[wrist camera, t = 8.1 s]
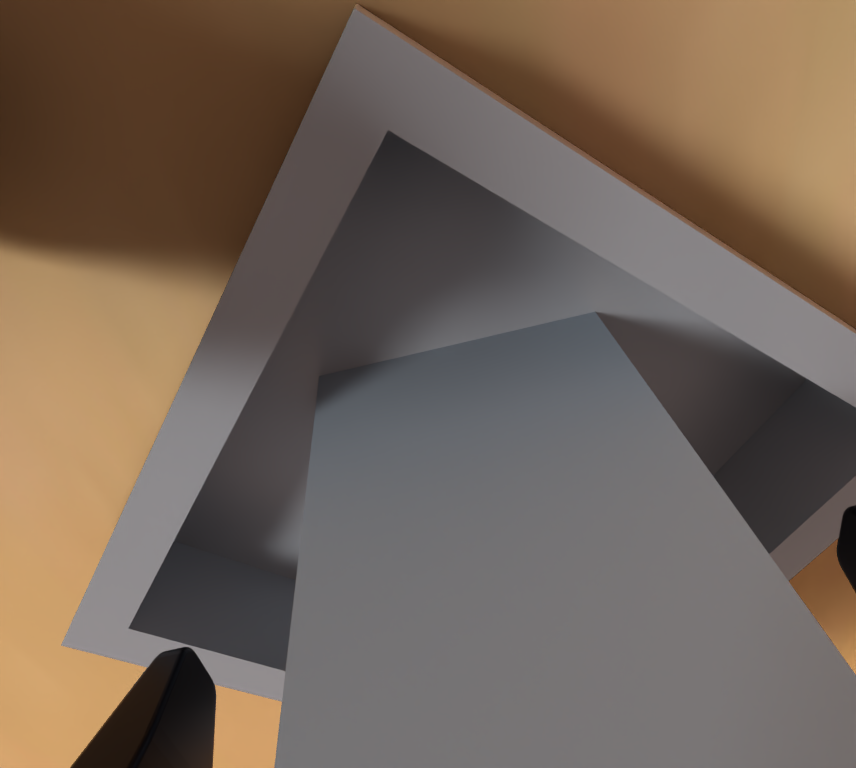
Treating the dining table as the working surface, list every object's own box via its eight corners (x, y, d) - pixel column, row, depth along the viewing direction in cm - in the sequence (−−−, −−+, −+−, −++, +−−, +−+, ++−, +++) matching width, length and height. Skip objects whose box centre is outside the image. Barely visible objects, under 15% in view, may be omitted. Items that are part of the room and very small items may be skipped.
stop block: (595, 311, 10) (914, 756, 4) (613, 517, 13) (836, 989, 7) (318, 375, 10) (259, 888, 4) (387, 566, 13) (408, 1068, 7)
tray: (356, 3, 8) (354, 7, 6) (866, 336, 12) (980, 415, 9) (112, 533, 12) (61, 645, 10) (539, 667, 16) (566, 774, 14)
